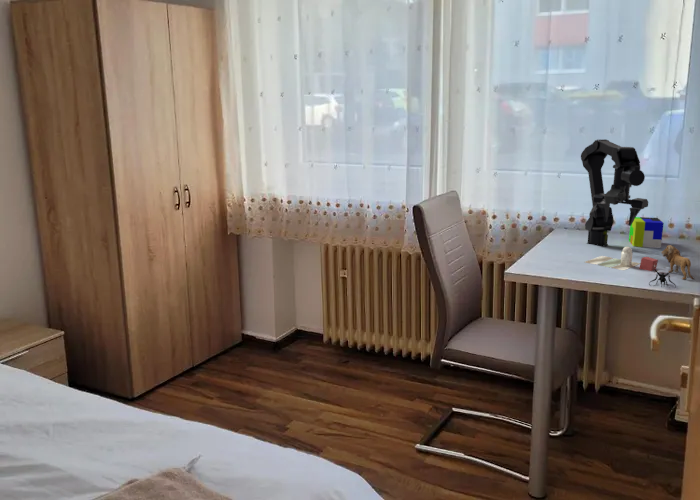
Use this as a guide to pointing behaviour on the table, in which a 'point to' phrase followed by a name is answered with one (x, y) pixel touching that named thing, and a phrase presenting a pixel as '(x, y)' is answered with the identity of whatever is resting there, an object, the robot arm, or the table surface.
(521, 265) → the table surface
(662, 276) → the creature
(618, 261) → the board
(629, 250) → the pawn
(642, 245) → the puzzle toy
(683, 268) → the lion figurine
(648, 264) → the die
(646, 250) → the table surface
